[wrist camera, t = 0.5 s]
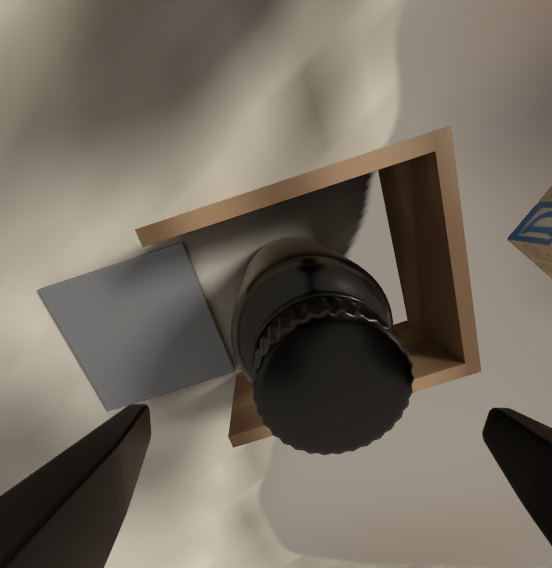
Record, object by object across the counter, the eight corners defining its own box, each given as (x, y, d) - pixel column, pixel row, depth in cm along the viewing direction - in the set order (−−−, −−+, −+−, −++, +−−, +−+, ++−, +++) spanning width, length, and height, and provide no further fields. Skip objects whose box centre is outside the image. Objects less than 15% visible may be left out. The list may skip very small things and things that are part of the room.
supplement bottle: (347, 241, 19) (487, 291, 7) (330, 332, 21) (420, 489, 9) (247, 228, 18) (227, 262, 7) (237, 323, 20) (209, 480, 8)
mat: (183, 242, 18) (181, 242, 18) (234, 368, 21) (234, 371, 21) (41, 288, 19) (36, 290, 18) (110, 407, 21) (107, 411, 21)
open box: (387, 152, 18) (450, 125, 12) (419, 326, 21) (481, 371, 15) (174, 222, 18) (135, 229, 12) (240, 382, 21) (233, 447, 16)
